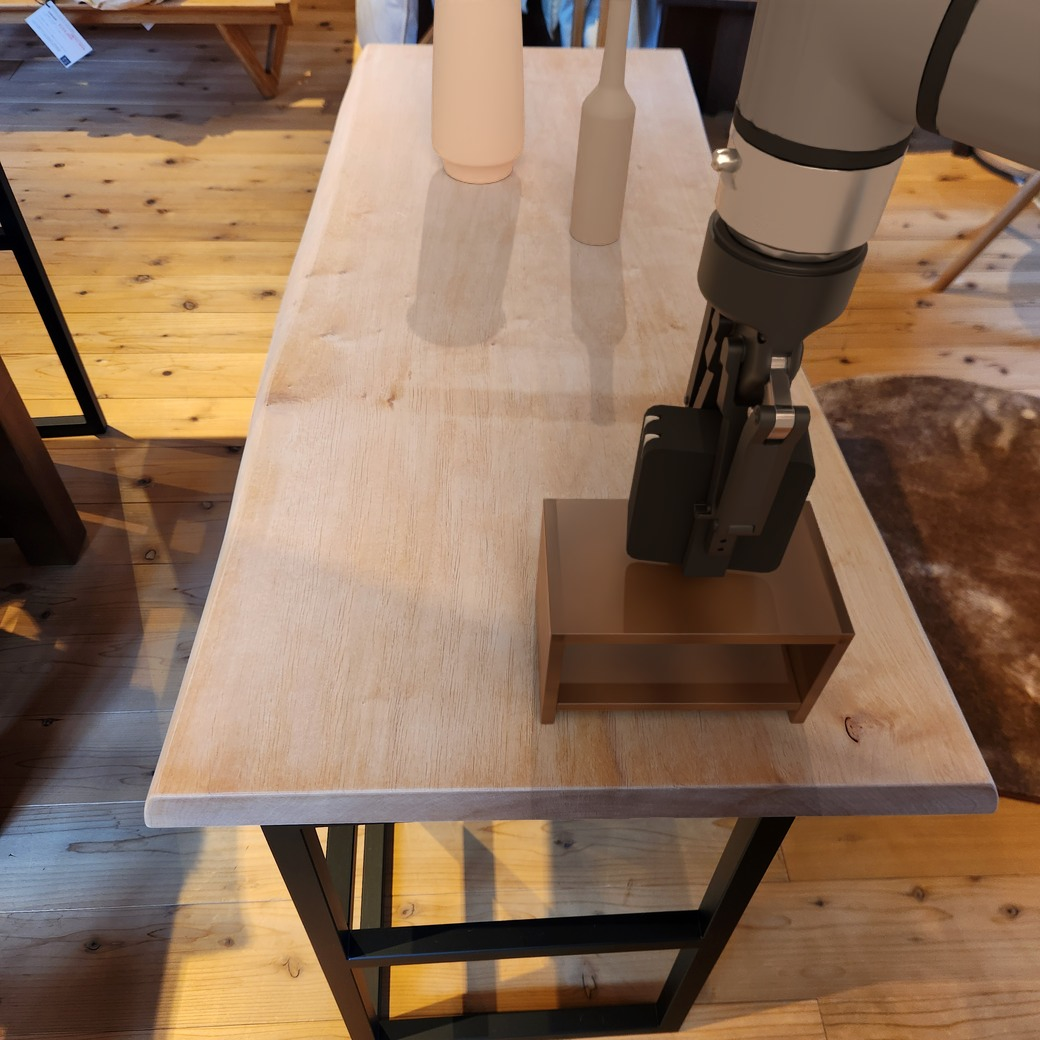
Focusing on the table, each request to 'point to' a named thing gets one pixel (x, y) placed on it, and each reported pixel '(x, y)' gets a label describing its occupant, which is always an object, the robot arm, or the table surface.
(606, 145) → the bottle
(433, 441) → the table surface
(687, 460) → the electronic device
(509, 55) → the vase
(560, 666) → the shelf
